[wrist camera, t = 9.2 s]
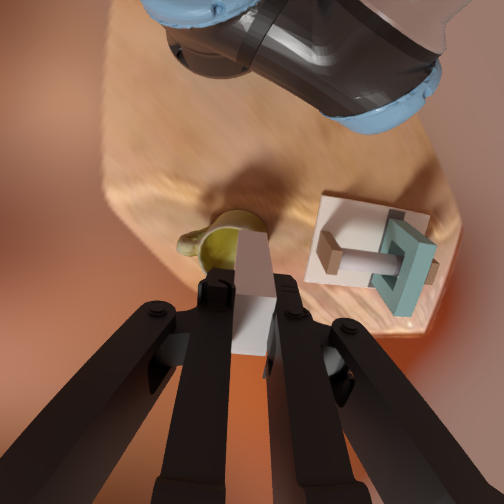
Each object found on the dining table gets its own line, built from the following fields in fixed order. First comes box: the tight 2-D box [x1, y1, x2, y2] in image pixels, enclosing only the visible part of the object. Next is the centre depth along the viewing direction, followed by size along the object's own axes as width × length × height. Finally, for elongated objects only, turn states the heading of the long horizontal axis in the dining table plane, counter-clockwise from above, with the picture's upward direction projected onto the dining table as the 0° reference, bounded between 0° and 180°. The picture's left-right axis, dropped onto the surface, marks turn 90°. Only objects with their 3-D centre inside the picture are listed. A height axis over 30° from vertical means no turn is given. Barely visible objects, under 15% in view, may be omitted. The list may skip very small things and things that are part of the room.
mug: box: [177, 210, 268, 276], centre depth 45 cm, size 12×10×10 cm
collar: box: [371, 218, 437, 317], centre depth 44 cm, size 3×11×10 cm, turn 172°
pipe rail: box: [304, 194, 440, 289], centre depth 46 cm, size 19×14×8 cm
